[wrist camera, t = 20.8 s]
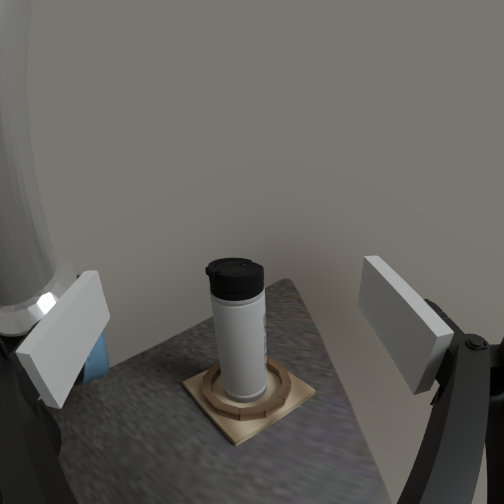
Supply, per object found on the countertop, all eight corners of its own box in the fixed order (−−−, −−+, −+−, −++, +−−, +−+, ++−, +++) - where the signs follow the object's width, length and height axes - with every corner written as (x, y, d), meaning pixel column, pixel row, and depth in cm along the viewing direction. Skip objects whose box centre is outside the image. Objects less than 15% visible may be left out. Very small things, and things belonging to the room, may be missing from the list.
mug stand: (236, 446, 32) (234, 436, 31) (183, 385, 42) (180, 374, 41) (314, 394, 39) (316, 383, 38) (255, 351, 50) (254, 340, 49)
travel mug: (213, 386, 41) (194, 261, 34) (249, 368, 44) (242, 247, 37) (238, 411, 36) (223, 279, 29) (276, 390, 40) (275, 261, 33)
